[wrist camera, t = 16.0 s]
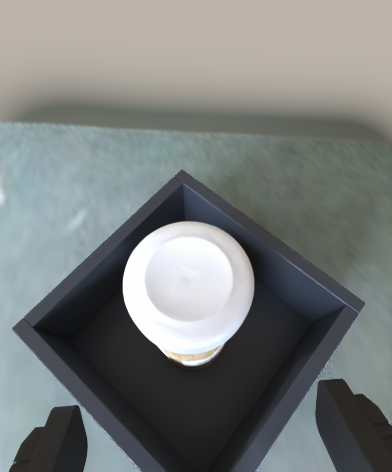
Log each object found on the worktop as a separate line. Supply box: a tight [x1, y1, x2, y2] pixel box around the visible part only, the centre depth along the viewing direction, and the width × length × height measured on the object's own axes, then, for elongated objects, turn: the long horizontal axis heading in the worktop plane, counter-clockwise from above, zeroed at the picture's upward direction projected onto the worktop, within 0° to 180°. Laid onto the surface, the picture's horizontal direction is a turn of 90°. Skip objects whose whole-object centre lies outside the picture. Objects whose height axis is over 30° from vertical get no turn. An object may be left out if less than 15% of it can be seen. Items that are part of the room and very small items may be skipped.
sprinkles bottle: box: [123, 221, 254, 370], centre depth 17 cm, size 5×5×14 cm
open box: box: [12, 170, 365, 472], centre depth 21 cm, size 14×14×7 cm
